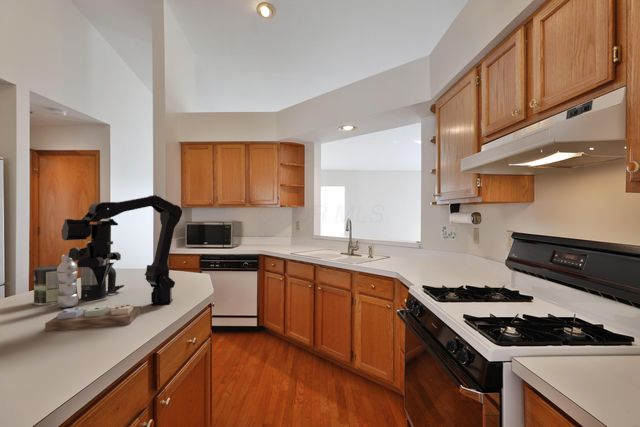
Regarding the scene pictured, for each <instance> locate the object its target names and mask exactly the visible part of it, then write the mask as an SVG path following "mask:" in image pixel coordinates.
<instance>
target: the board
mask: <svg viewBox="0 0 640 427" xmlns="http://www.w3.org/2000/svg"><path fill="white" fill-rule="evenodd" d="M113 308H114V307H110V308H109V312H108V313H106V314H105V315H104V316H93V317H85V311H87V310H88V309H83V314H82V315H80V316H78V317H77V318H67V319H57V316H55V317H53V318H52V319H49V320H48V321H46V322H45V323H44V328H45V329H44V332H53V331H65V330H76V329H88V328H89V329H90V328H100V327H101V328H102V327H110V326H111V327H112V326H123V325H131V324H132V323H133V322H134V321H135V319H137V318H138V317H139V316H140V315H141V314H142V305H138V306H134V305H133V311H132V312H130V313H129V314H119V315H111V309H113Z"/></svg>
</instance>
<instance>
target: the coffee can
mask: <svg viewBox="0 0 640 427" xmlns="http://www.w3.org/2000/svg"><path fill="white" fill-rule="evenodd" d="M59 265H60V264H59ZM59 265H58V264H57V265H56V264H55V265H48V266H47V265H44V266H39V267H38V266H37V267H34V268H33V270H32V271H33V305H35V306H48V305H54V304H57V298H58V293H59V280H58V275H57V268H58V266H59Z"/></svg>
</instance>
